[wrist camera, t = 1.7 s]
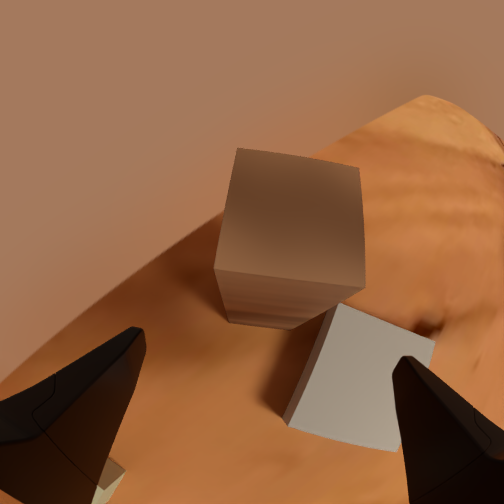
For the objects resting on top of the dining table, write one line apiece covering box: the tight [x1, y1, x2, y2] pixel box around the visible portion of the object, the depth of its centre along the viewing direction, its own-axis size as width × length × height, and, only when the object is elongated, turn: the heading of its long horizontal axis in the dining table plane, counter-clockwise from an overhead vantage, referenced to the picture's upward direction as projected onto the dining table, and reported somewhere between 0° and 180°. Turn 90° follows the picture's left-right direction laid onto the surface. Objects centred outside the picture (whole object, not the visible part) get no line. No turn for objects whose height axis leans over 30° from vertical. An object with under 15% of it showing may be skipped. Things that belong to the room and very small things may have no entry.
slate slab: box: [282, 303, 435, 452], centre depth 18 cm, size 9×9×3 cm
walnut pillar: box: [214, 148, 365, 330], centre depth 15 cm, size 4×4×13 cm
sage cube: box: [92, 458, 126, 504], centre depth 13 cm, size 4×4×4 cm
